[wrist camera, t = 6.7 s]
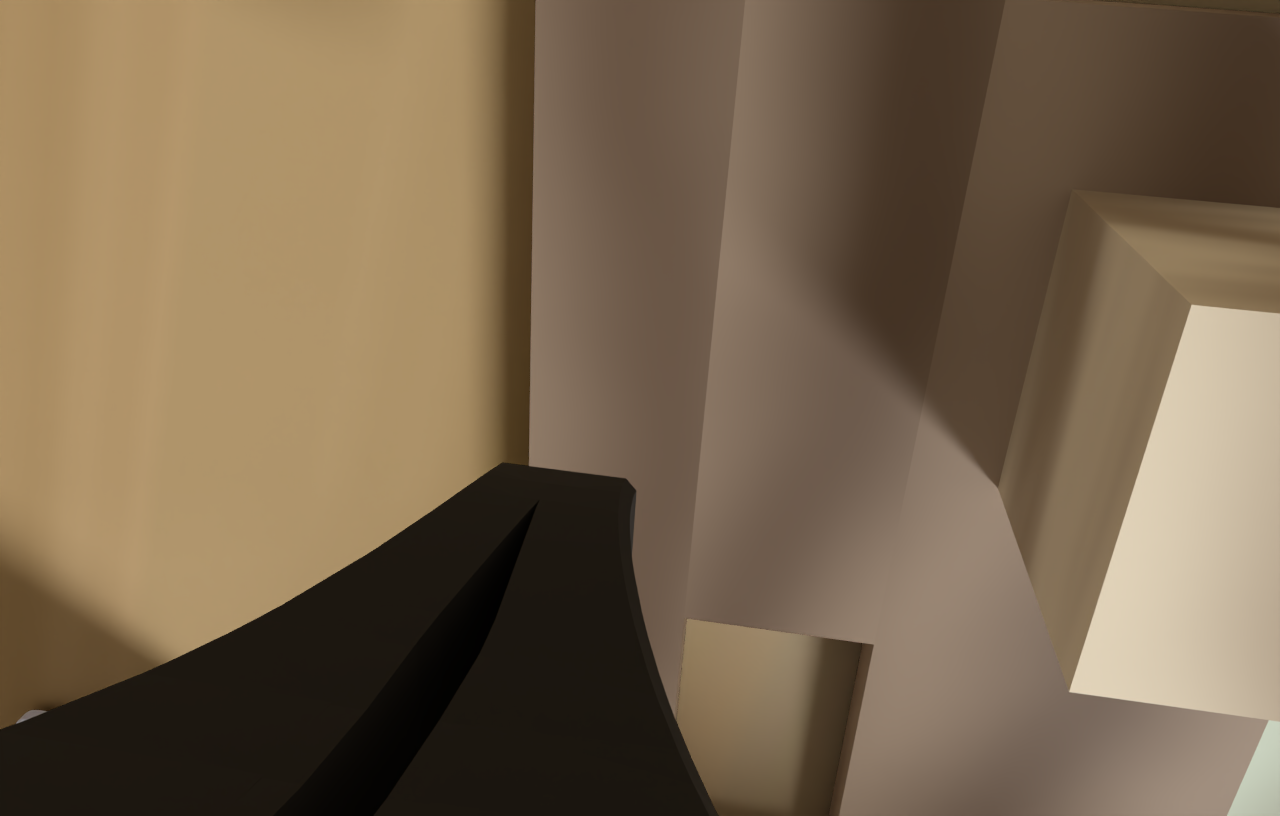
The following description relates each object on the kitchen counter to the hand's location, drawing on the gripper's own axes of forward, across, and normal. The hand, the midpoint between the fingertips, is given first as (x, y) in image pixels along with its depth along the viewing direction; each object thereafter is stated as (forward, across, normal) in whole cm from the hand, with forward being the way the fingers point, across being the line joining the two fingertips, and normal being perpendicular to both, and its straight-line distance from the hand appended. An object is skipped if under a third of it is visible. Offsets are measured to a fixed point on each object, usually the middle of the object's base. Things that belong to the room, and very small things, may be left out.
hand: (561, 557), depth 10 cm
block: (+7, -8, 0) cm, 11 cm away
